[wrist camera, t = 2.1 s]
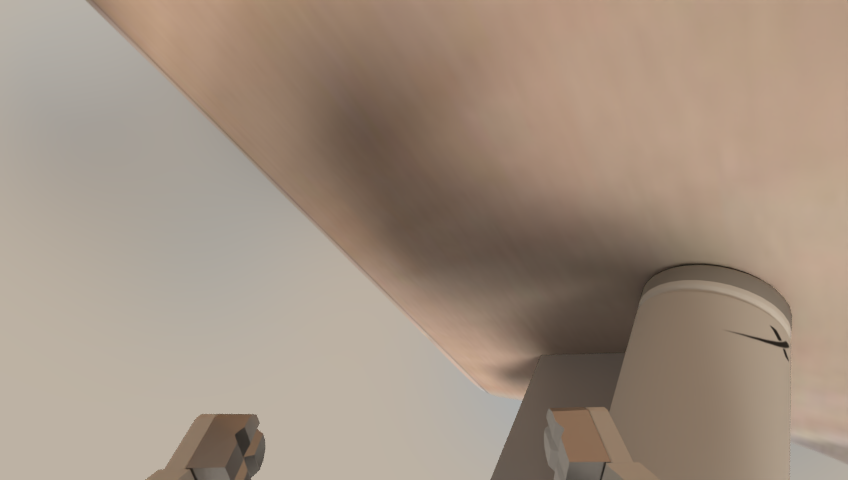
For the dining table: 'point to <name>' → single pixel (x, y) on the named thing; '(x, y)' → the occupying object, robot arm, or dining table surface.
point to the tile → (555, 388)
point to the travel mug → (707, 377)
